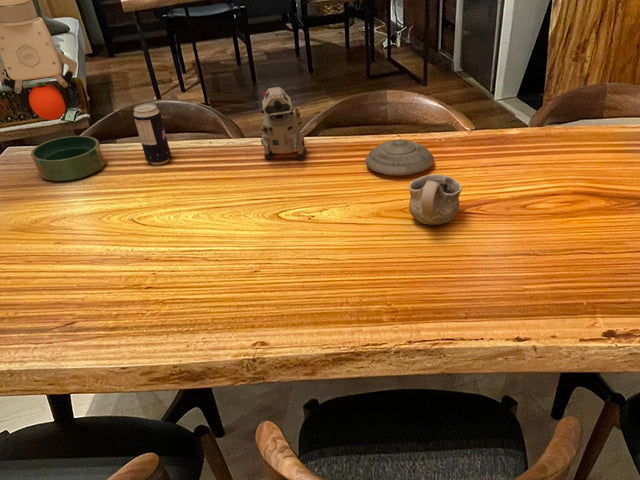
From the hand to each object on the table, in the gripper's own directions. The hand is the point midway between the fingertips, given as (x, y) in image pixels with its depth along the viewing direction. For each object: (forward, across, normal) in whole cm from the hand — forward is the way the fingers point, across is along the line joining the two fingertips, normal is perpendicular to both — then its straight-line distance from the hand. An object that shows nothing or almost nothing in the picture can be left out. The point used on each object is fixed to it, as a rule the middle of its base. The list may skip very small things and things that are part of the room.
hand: (49, 107), depth 132 cm
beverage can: (+14, +19, -3) cm, 24 cm away
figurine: (+14, +46, -14) cm, 50 cm away
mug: (+14, +66, -54) cm, 86 cm away
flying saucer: (+14, +69, -27) cm, 75 cm away
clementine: (+2, 0, 0) cm, 2 cm away
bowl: (+14, 0, 0) cm, 14 cm away
